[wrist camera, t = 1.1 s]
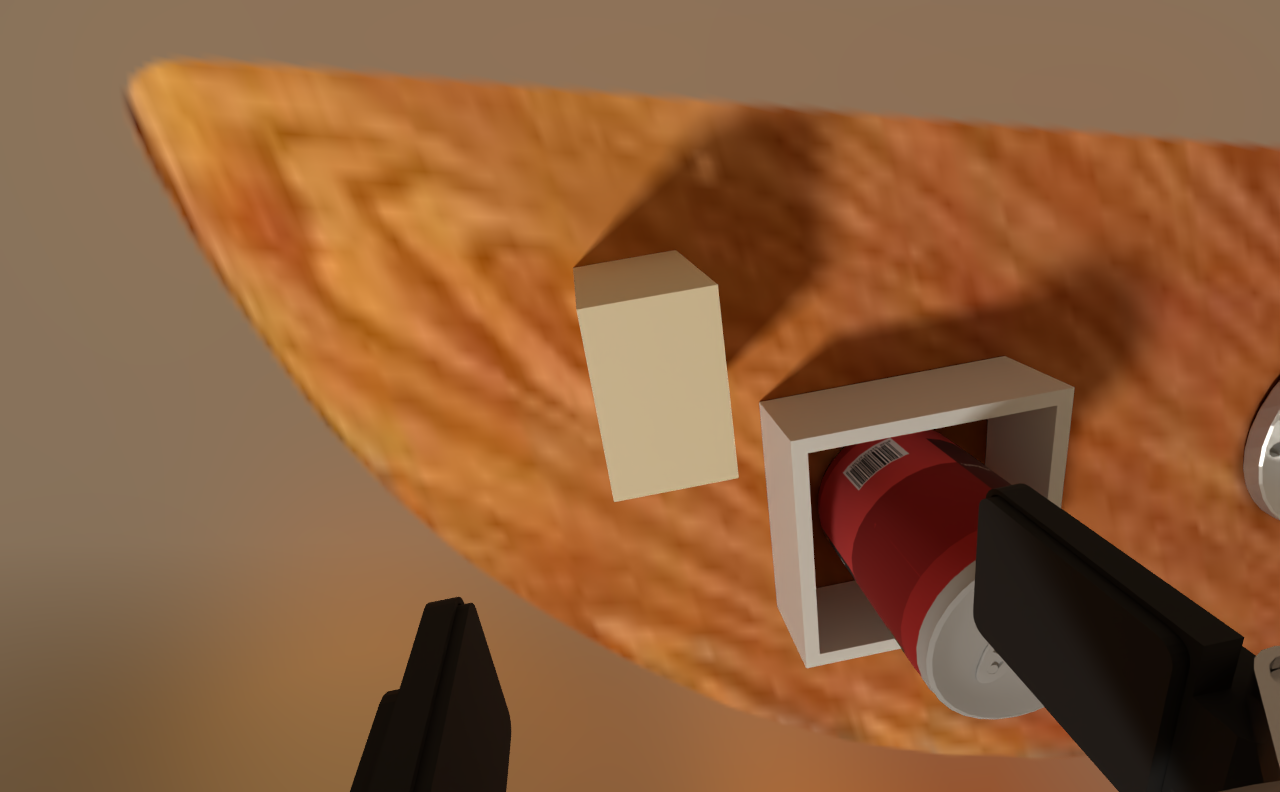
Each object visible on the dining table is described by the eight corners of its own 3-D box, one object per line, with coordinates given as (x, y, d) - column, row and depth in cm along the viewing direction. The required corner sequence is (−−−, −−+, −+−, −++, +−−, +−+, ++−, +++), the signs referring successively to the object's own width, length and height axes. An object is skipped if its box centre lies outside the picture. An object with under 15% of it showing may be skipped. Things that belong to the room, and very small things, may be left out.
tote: (1005, 356, 31) (1074, 387, 26) (990, 562, 35) (1048, 617, 31) (759, 402, 30) (790, 441, 26) (777, 606, 35) (806, 668, 30)
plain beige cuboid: (675, 249, 27) (717, 284, 20) (694, 397, 30) (738, 477, 22) (573, 267, 27) (576, 309, 19) (601, 415, 29) (614, 501, 22)
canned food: (795, 546, 33) (896, 718, 23) (838, 408, 31) (974, 533, 20) (924, 559, 35) (1074, 727, 24) (976, 428, 32) (1170, 555, 22)
